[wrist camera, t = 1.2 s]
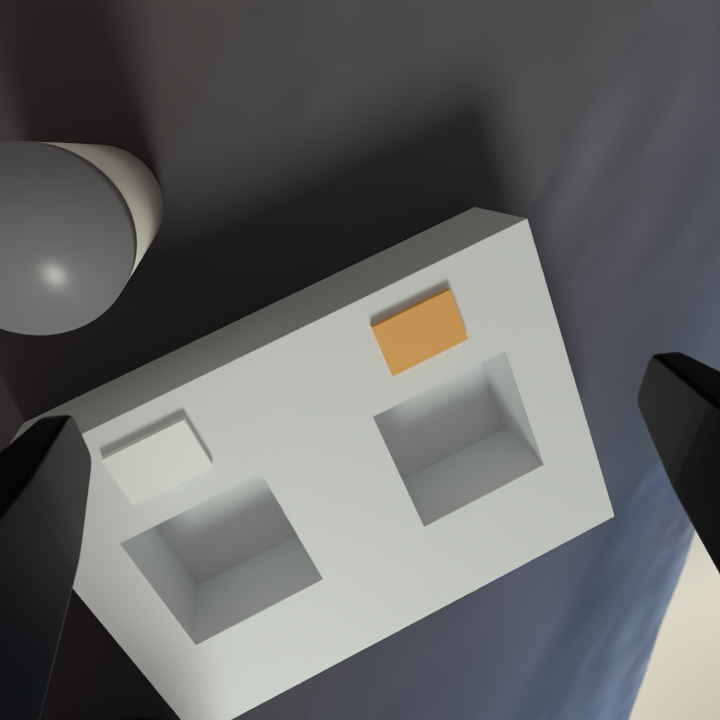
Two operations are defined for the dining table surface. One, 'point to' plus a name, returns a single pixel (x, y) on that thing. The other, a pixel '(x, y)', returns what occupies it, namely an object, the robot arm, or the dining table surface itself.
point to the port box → (334, 467)
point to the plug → (70, 231)
